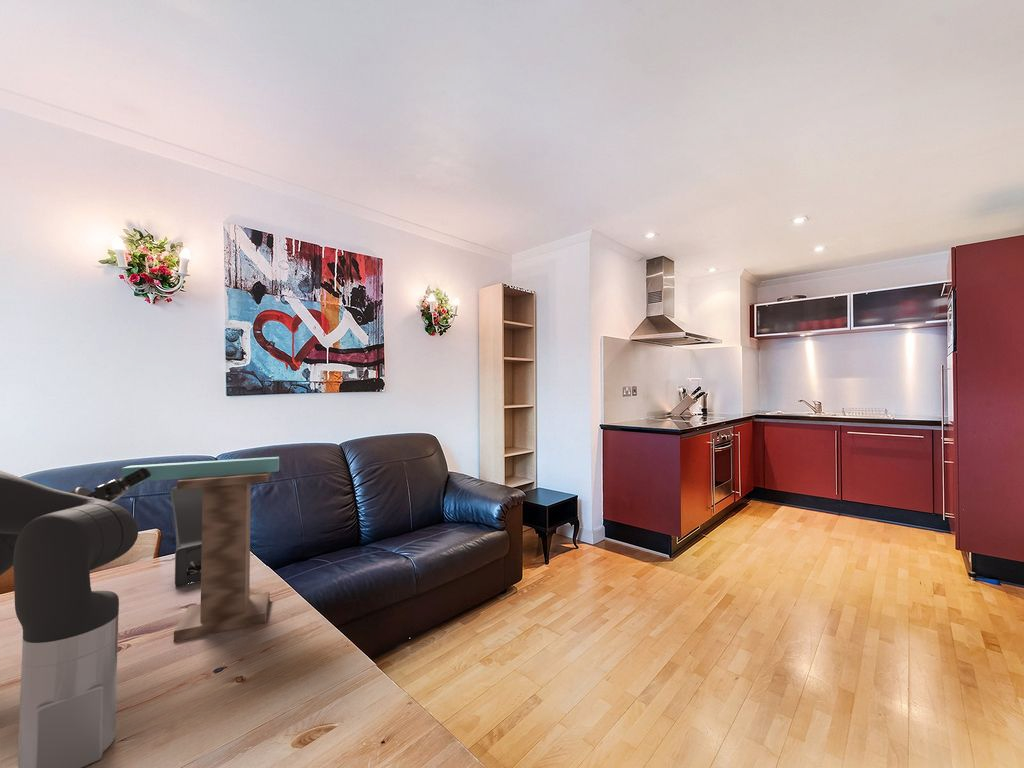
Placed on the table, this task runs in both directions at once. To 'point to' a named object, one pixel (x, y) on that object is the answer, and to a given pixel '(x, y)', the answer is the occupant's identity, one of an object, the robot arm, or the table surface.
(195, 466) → the teal bar
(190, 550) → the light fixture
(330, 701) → the table surface
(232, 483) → the walnut stand
